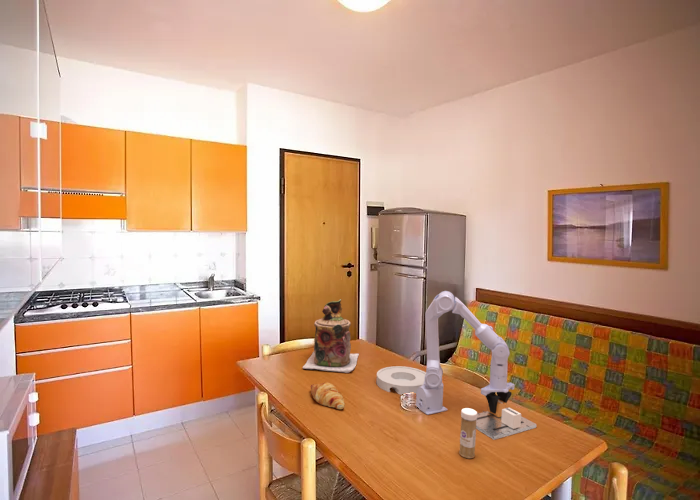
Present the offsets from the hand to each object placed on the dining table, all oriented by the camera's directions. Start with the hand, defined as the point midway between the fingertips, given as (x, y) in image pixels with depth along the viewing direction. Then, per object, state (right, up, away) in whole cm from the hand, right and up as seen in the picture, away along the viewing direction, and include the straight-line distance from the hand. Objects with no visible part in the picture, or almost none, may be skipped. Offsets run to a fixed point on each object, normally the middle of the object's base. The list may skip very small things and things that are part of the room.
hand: (496, 411), depth 141 cm
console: (-1, -2, -5) cm, 5 cm away
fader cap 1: (0, -1, 0) cm, 1 cm away
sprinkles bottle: (-18, -3, -24) cm, 31 cm away
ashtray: (-30, 0, +29) cm, 42 cm away
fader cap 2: (+2, -1, -8) cm, 8 cm away
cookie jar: (-62, +2, +52) cm, 81 cm away
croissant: (-62, 0, +9) cm, 63 cm away
